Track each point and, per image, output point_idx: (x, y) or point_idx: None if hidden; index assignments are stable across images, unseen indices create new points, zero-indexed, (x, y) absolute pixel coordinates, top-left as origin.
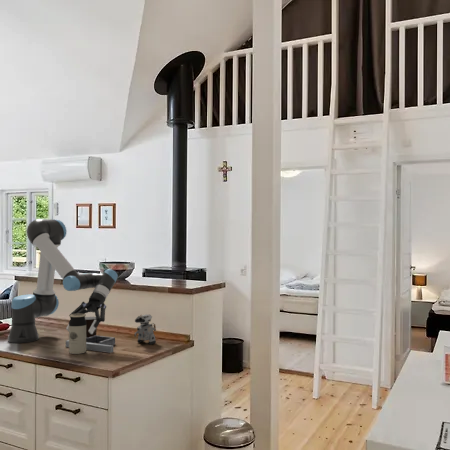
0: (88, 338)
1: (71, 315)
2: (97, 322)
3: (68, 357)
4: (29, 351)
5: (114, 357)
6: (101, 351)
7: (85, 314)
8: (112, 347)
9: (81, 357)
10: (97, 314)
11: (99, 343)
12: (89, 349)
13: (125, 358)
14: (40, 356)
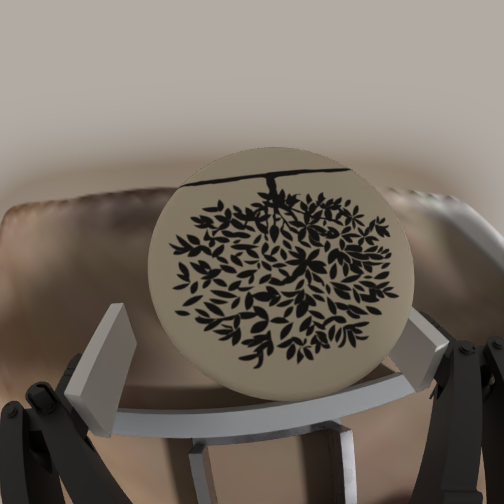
0: (343, 480)
1: (317, 165)
2: (58, 384)
3: None
4: (425, 232)
5: (46, 342)
6: (154, 409)
7: (193, 359)
8: None
9: None
10: (61, 471)
11: (197, 451)
12: (237, 406)
13: (14, 345)
14: None
